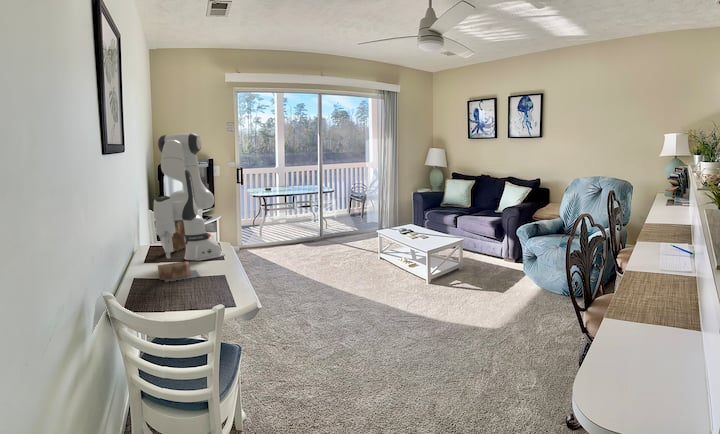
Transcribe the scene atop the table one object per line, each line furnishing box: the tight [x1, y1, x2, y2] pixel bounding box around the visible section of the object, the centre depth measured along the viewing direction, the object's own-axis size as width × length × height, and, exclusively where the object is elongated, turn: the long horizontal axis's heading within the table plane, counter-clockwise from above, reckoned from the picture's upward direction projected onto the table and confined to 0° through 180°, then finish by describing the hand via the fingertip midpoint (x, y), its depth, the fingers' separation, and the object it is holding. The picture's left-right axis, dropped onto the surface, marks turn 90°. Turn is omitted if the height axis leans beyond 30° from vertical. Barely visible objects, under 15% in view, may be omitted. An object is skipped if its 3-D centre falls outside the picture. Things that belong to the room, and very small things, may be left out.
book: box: [172, 220, 186, 253], centre depth 288 cm, size 16×6×25 cm, turn 168°
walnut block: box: [157, 260, 191, 281], centre depth 230 cm, size 6×6×14 cm
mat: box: [164, 269, 201, 283], centre depth 231 cm, size 16×14×1 cm
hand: (168, 257), depth 228 cm, fingers closed
